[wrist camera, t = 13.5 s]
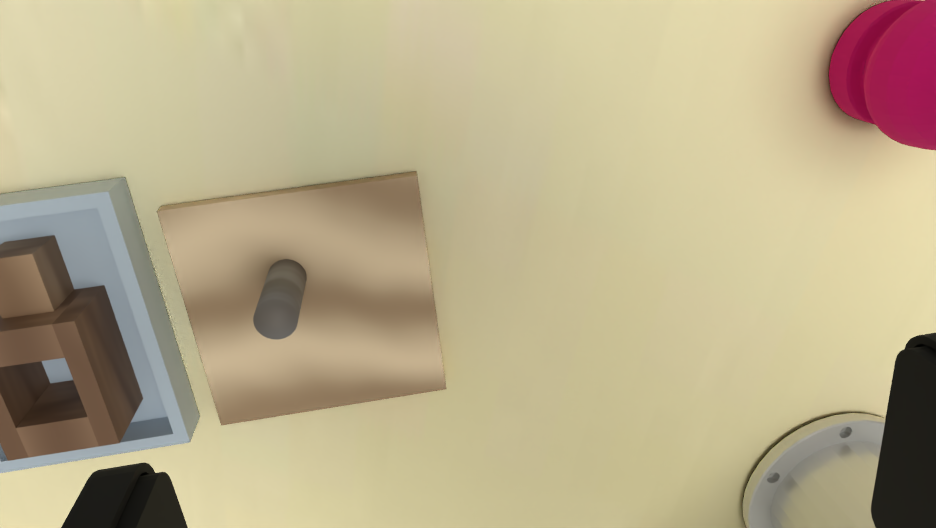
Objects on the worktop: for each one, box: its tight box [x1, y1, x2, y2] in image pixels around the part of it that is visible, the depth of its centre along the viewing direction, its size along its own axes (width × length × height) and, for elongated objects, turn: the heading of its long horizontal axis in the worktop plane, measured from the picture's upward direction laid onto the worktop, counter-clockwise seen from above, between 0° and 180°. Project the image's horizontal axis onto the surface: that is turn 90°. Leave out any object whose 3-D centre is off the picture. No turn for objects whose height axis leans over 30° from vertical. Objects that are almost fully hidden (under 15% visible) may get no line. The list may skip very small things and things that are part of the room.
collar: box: [0, 235, 143, 461], centre depth 34 cm, size 5×10×4 cm, turn 6°
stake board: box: [157, 171, 446, 425], centre depth 36 cm, size 13×13×6 cm
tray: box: [0, 177, 200, 473], centre depth 36 cm, size 14×10×2 cm
